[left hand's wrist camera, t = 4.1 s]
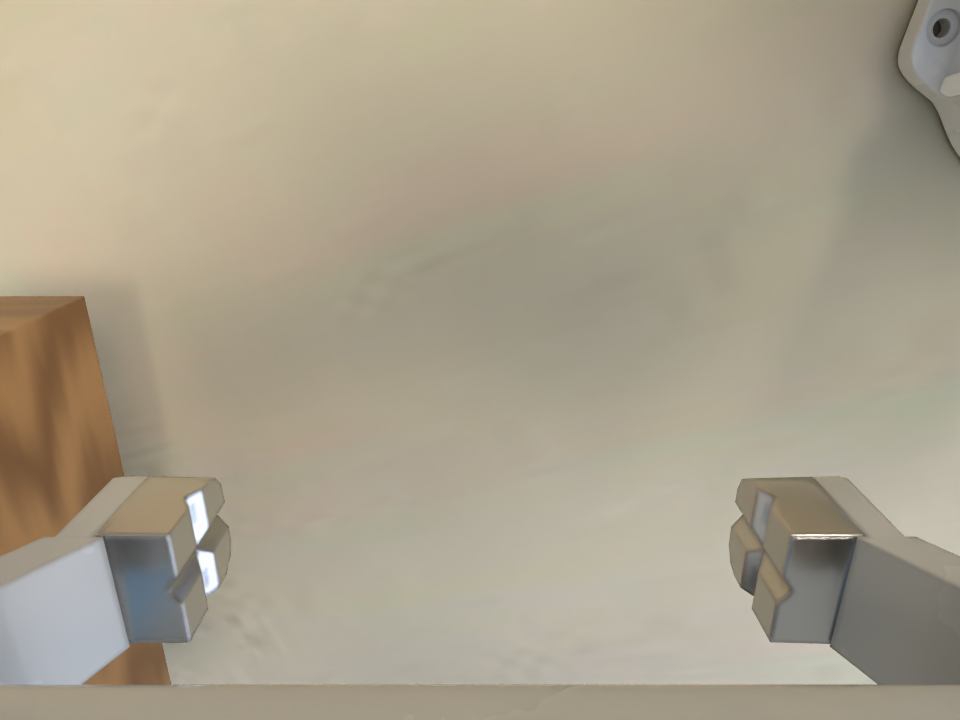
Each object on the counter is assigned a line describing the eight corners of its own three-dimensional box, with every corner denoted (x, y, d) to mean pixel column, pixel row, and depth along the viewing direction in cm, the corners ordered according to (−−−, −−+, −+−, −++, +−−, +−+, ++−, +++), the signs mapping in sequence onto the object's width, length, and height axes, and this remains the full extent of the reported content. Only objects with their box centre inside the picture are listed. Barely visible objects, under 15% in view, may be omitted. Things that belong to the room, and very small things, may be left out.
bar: (-33, 296, 30) (-221, 365, 22) (84, 296, 30) (-62, 365, 22) (84, 699, 39) (-20, 854, 31) (174, 699, 39) (94, 854, 31)
